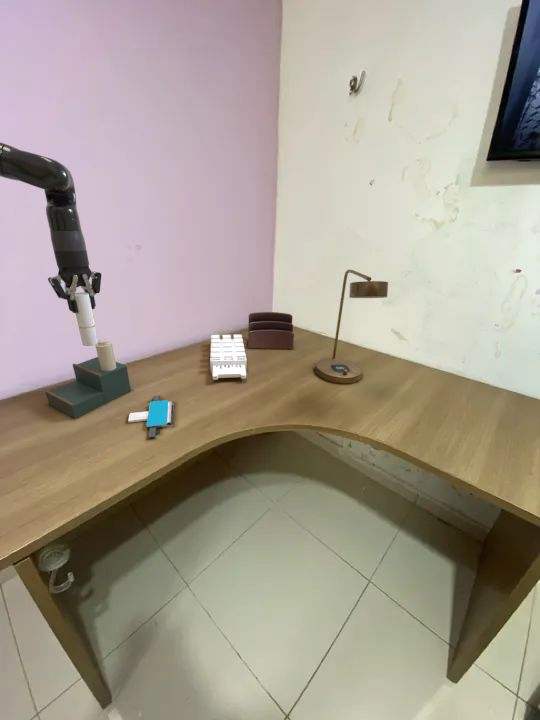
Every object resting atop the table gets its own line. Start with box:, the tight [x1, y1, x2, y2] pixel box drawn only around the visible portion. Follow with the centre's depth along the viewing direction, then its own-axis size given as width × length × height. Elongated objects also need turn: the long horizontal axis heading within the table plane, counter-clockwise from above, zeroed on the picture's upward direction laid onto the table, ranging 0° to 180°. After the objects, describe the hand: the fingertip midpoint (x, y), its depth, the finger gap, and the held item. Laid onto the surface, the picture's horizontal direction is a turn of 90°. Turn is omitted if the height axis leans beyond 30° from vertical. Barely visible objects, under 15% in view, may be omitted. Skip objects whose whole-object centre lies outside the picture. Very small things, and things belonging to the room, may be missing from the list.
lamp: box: [315, 269, 389, 385], centre depth 105 cm, size 17×27×38 cm, turn 8°
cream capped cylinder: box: [94, 338, 117, 371], centre depth 92 cm, size 4×4×9 cm
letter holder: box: [247, 311, 295, 350], centre depth 137 cm, size 10×20×14 cm, turn 93°
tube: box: [74, 291, 99, 347], centre depth 91 cm, size 4×4×15 cm
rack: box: [44, 356, 132, 419], centre depth 93 cm, size 13×18×10 cm
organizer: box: [209, 334, 248, 381], centre depth 121 cm, size 13×5×35 cm
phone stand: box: [127, 395, 175, 440], centre depth 87 cm, size 20×12×2 cm, turn 15°
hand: (83, 310), depth 89 cm, fingers closed on tube, 4 cm apart
